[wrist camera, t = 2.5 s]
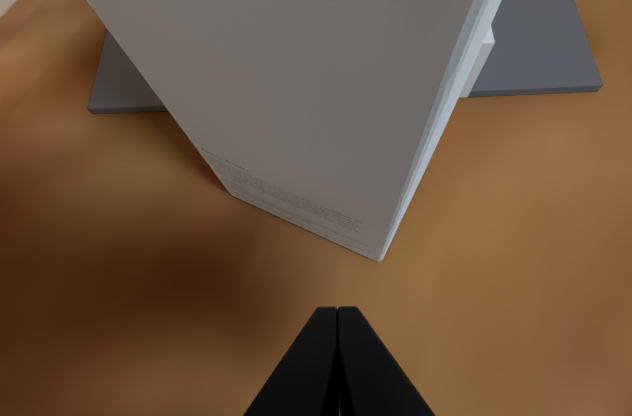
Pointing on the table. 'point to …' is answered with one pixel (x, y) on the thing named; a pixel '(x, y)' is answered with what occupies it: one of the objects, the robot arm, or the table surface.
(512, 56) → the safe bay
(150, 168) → the table surface
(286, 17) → the supplement box
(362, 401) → the robot arm
